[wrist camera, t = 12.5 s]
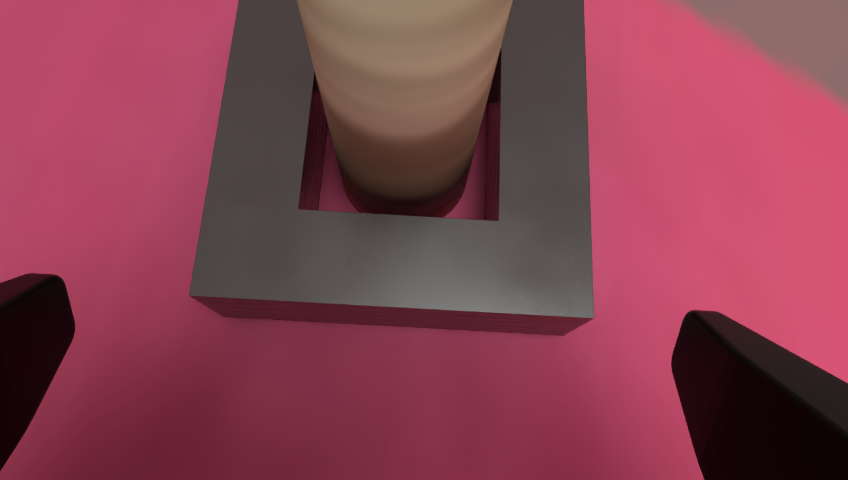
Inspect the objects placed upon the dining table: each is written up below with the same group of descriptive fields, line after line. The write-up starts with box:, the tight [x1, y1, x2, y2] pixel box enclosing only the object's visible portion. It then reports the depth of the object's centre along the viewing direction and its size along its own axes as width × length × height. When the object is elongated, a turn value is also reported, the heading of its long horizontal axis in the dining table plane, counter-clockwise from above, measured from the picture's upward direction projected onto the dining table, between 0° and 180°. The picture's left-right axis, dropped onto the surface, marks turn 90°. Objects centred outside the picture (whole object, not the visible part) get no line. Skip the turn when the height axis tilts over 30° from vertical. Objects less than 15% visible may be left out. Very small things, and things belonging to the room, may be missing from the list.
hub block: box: [189, 0, 594, 336], centre depth 18 cm, size 10×10×3 cm
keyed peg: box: [297, 0, 513, 218], centre depth 13 cm, size 5×4×12 cm
